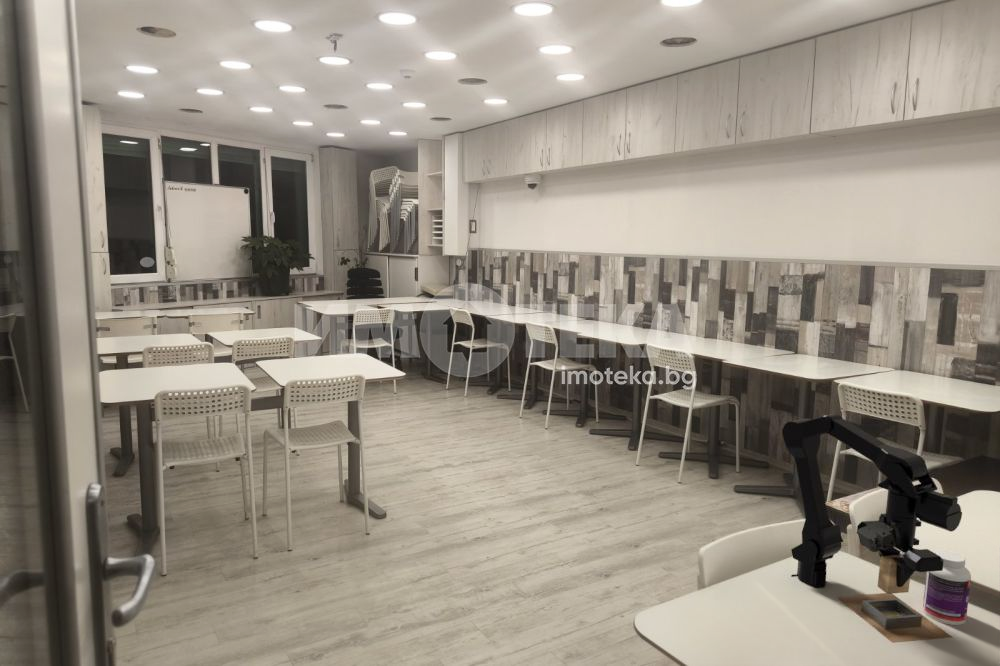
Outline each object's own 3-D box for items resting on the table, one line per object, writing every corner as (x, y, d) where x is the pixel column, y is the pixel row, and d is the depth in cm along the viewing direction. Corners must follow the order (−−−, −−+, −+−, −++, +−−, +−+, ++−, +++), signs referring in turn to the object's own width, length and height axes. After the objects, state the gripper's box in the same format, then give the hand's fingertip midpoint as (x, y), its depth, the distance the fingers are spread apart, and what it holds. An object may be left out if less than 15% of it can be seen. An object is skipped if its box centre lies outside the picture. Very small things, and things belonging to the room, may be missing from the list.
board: (835, 599, 157) (835, 596, 157) (890, 595, 160) (890, 592, 160) (891, 645, 140) (892, 642, 140) (952, 640, 142) (953, 637, 142)
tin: (861, 610, 151) (862, 600, 151) (895, 608, 153) (896, 598, 152) (885, 629, 144) (886, 619, 144) (920, 626, 146) (922, 616, 145)
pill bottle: (972, 630, 146) (980, 566, 144) (930, 625, 148) (937, 562, 146) (955, 610, 154) (962, 549, 152) (916, 606, 155) (922, 545, 153)
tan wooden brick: (877, 586, 149) (880, 556, 148) (898, 585, 149) (901, 554, 148) (887, 593, 146) (890, 562, 145) (908, 592, 147) (911, 561, 146)
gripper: (838, 498, 153) (832, 564, 155) (899, 534, 135) (891, 608, 137) (883, 496, 155) (876, 561, 157) (949, 531, 137) (940, 604, 139)
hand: (893, 582), depth 147 cm, fingers closed on tan wooden brick, 3 cm apart
